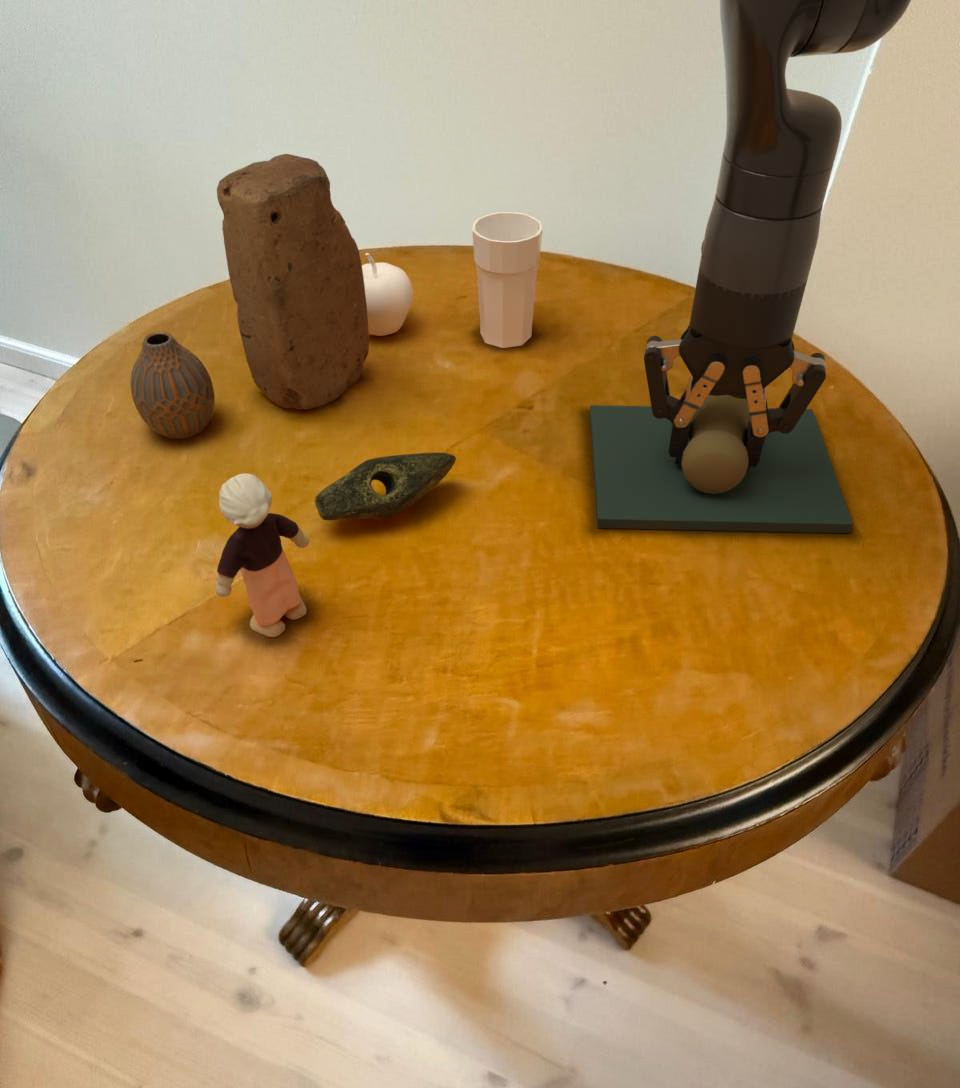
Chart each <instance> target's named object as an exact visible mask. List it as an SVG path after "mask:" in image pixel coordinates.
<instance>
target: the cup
mask: <svg viewBox="0 0 960 1088" xmlns="http://www.w3.org/2000/svg"><path fill="white" fill-rule="evenodd" d="M471 227H472V228H471V229H472V230H471V233H472V247H473V263H474V264H475V266H476V267H475V268H476V280H477V281H476V282H477V298H478V312H479V313H478V314H479V330H480V331H479V333H480V335H481V338H482V340H483V341H484V343H485V344H487V345H490V346H494V347H497V348H501V349H507V348H513V347H521V346H524V344H525V343H527V341H528V340H530V339H531V338H532V334H533V333H532V331H533V318H534V311H535V310H534V309H535V298H536V289H537V278H538V267H539V262H540V261H541V260H540V259H541V250H542V238H543V223H542V222H541V220H539V219H538V218H536V217H535V216H532V215H530V214H527V213H523V212H515V211H497V212H493V213H488V214H485V215H483V216H480V217H478V218H476V219H475V220H474V222H473V223H472V225H471Z"/></svg>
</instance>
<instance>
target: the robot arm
mask: <svg viewBox="0 0 960 1088" xmlns="http://www.w3.org/2000/svg"><path fill="white" fill-rule="evenodd" d="M911 1H912V0H719V16H720V26H721V37H722V46H723V58H724V71H725V72H724V73H725V93H726V94H725V96H726V97H725V103H726V128H725V129H726V130H725V139H724V140H725V141H724V144H723V149H722V155H721V160H720V166H719V172H718V179H717V184H716V190H715V195H714V200H713V202H712V203H713V204H712V207H711V210H710V213H709V217H708V219H707V223H706V227H705V232H704V237H703V240H702V243H701V246H700V247H701V248H700V250H701V251H700V253H701V255H700V260H699V266H698V274H697V277H696V283H695V288H694V289H695V290H694V296H693V301H692V308H691V313H690V318H689V323H688V326H687V327H686V329H685V331H684V332H683V333H682V334H681V335H680V338H676V339H669V340H668V339H667V340H662V338H661V337H660V336H658V335H651V336H649V337H648V339H647V340H646V345H645V351H644V356H643V363H644V369H645V375H646V381H647V388H648V395H649V400H650V406H651V407H652V413H653V416H654V417H655V418H658V419H662V418H666V419H668V420H670V421H671V423H672V425H673V426H672V432H671V438H670V444H669V455H670V457H676V460H675V464H681V463H682V457H683V452H684V450H685V448H686V447H687V443H688V438H689V432H690V425H691V420H692V418H693V416H694V415H695V413H696V411H697V410H698V409H700V408H701V406H702V405H703V403H704V401H705V400H706V398H707V397H708V395H713V396H721V395H730V396H732V397H735V398H739V399H747V402H748V409H749V414H750V417H751V421H749V422H748V426H747V430H746V436H745V440H744V446H745V447H746V450H747V453H748V468H747V472H746V473H748V470H749V467H756V465H757V464H758V463H759V460H760V456H761V452H762V448H763V444H764V441H765V437H766V436H767V435H768V434H769V433H771V432H775V431H779V432H781V433H783V434H787V433H790V432H791V431H792V430H793V429H794V427H795V425H796V424H797V422H798V421H799V419H800V418H801V416H802V415H803V413H804V411H805V410H806V409H808V407H809V405H810V404H811V402H812V401H813V399H814V398H815V396H816V394H817V393H818V391H819V390H820V388H821V386H822V385H823V383H824V382H825V380H826V378H827V368H826V367H827V366H826V358H825V355H824V354H823V353H820V352H814V353H812V354H810V355H808V354H806V353H802V352H800V351H798V350H795V345H794V341H793V336H794V332H795V328H796V325H797V321H798V317H799V313H800V309H801V305H802V302H803V298H804V295H805V291H806V286H807V283H808V280H809V275H810V272H811V268H812V264H813V260H814V256H815V252H816V248H817V245H818V240H819V235H820V227H821V217H822V212H823V208H824V207H823V206H824V201H825V198H826V194H827V189H828V186H829V182H830V179H831V175H832V171H833V167H834V163H835V160H836V156H837V153H838V150H839V149H838V148H839V144H840V140H841V135H842V130H843V129H842V125H843V124H842V123H843V121H842V115H841V112H840V110H839V108H838V106H836V104H835V103H833V102H832V101H830V99H827V98H826V97H824V96H821V95H817V94H814V93H811V92H808V91H802V90H797V89H792V88H788V87H787V79H786V71H787V65H788V60H789V58H799V57H811V56H812V57H813V56H825V55H827V56H828V55H837V54H838V55H839V54H849V53H854V52H858V51H861V50H864V49H866V48H869V47H870V46H872V45H874V44H875V43H877V42H878V41H879V40H880V39H882V38H883V37H884V36H885V35H886V34H888V33H889V32H890V31H891V30H892V29H893V28H894V27H895V25H896V24H897V23H898V22H899V21H900V20H901V18H902V17H903V16H904V15H905V13H906V11H907V9H908V8H909V5H910V4H911ZM678 357H680V358H681V360H682V361H683V363H684V365H685V366H686V368H687V370H688V371H689V373H690V377H689V378H688V381H687V383H686V386H685V388H684V389H683V391H682V393H681V394H680V396H679V398H677V397H674V396H672V395H671V393H670V386H669V385H670V384H669V379H668V371H670V370H671V369H672V368H673V365H674V360H675V359H676V358H678ZM789 368H790V369H791V370H792V371H791V381H792V385H791V386H790V388H789V389H788V391H787V393H786V395H785V396H784V398H783V399H782V401H781V403H780V404H779V406H778V407H774V408H775V409H769V410H768V408H769V404H768V397H767V387H768V386H769V385H770V384H771V383H772V382H774V381H775V380H777V378H778V377H780V376H781V375H782V374H783V373H785V372H786V371H788V370H789Z"/></svg>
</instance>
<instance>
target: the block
mask: <svg viewBox="0 0 960 1088" xmlns="http://www.w3.org/2000/svg"><path fill="white" fill-rule="evenodd" d="M331 195H332V194H331V181H330V179H329V177H328V174H327V172H326V170H325V168H324V167H323V166H322V165H321V164H320V163H319V162H318V161H317V160H314V159H311V158H309V157H303V156H300V155H299V156H298V155H296V154H295V155H294V154H290V153H283V154H278V155H274V157H272V158H270V159H269V160H262V161H255V162H254V161H253V162H252V163H249V164H248V165H246V166H244V167H241V168H239V169H237V170H234V171H232V172H229V173H228V174H227V175H225V176H224V177H223V178H221V179H220V180H219V181H218V184H217V187H216V197H217V198H216V199H217V202H218V205H219V208H220V209H221V211H222V214H223V218H222V222H221V223H222V226H221V230H222V234H223V236H222V237H223V245H224V251H225V258H226V263H227V270H228V276H229V281H230V286H231V290H232V295H233V299H234V301H235V303H236V306H237V308H236V318H237V325H238V329H239V334H240V338H241V343H242V346H243V351H244V355H245V360H246V362H247V365H248V368H249V371H250V374H251V377H252V379H253V382H254V384H255V385H256V387H257V388H258V389H259V390H260V391H261V392H262V394H264V396H265V397H266V398H268V399H269V400H270V401H271V402H273V403H274V404H275V405H276V406H277V405H278V406H279V407H281V408H285V409H295V410H296V409H297V410H298V409H299V410H311V409H313V408H319V407H322V406H324V405H325V406H326V405H327V404H330V403H332V402H333V401H335V400H336V399H338V398H340V396H341V395H342V394H343V393H344V392H345V391H346V390H347V389H349V388H351V387H352V386H353V385H354V384H356V382H357V383H358V381H359V379H360V377H361V374H362V372H363V368H364V364H365V361H366V359H367V357H368V355H369V351H370V335H369V329H368V316H367V305H366V296H365V285H364V277H363V271H362V265H363V264H362V259H361V255H360V250H359V247H358V244H357V242H356V240H355V239H354V238H353V236H352V234H351V231H350V229H349V227H348V225H347V224H346V220H345V218H344V217H343V216H342V213H341V212H340V211H339V210H337V209H336V208H335V207H334V204H333V202H332V197H331Z"/></svg>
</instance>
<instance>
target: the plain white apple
mask: <svg viewBox="0 0 960 1088" xmlns="http://www.w3.org/2000/svg"><path fill="white" fill-rule="evenodd" d="M364 255H365V256H366V258H367V260H368V261H369V263H364V264H362V271H363V277H364V285H365V296H366V305H367V316H368V329H369V336H378V337H383V336H385V337H386V336H387V335H392V334H395V333H397V332H398V331H399V330H401V328H402V326H403V325H404V322H405V320H406V319H407V315H408V313H409V311H410V309H411V306H412V303H413V297H414V290H413V285H412V283H411V280H410V277H408V275H407V273H406V272H405V271H404V270H403V269H402V268H401V267H398V266H396V265H393V264H390V263H388V262H384V261H382V262H375V260H374V259H373V257H372V256H371V254H370V253H369V252H367V253H365V254H364Z"/></svg>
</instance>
